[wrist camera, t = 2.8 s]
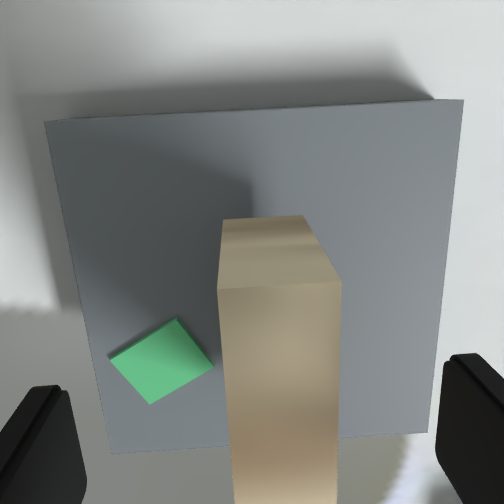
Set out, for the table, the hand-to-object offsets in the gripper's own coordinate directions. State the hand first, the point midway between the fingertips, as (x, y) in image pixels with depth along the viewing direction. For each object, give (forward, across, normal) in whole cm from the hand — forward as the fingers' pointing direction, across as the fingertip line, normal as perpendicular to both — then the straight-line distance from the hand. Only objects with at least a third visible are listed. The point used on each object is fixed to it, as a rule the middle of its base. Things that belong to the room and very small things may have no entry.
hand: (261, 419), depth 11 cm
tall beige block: (+5, -1, +1) cm, 5 cm away
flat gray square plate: (+7, -1, -1) cm, 7 cm away
